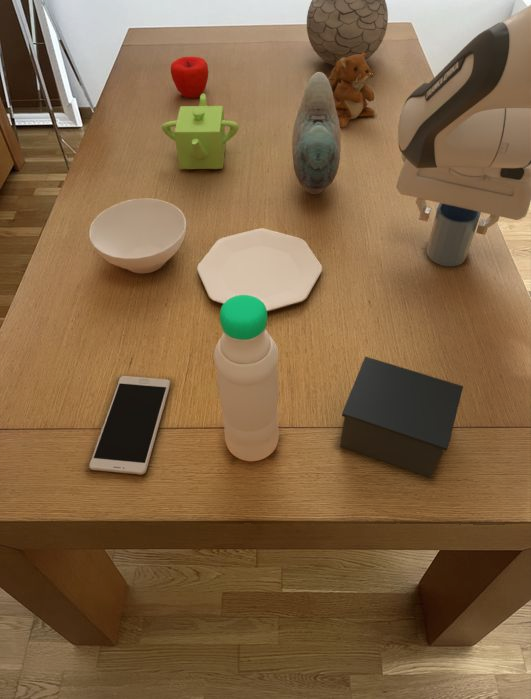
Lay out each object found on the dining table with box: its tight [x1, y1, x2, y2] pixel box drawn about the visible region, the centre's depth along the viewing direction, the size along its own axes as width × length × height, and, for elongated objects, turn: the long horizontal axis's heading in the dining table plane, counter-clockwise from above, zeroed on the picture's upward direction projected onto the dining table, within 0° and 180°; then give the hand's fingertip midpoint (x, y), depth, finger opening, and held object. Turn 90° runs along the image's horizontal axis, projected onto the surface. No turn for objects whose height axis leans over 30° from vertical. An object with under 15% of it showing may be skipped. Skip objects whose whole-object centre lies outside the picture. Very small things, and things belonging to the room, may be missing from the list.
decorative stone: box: [291, 71, 342, 195], centre depth 104 cm, size 21×9×20 cm, turn 177°
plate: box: [196, 227, 323, 313], centre depth 95 cm, size 20×20×2 cm
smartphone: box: [88, 375, 171, 476], centre depth 76 cm, size 8×1×15 cm
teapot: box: [161, 92, 240, 170], centre depth 114 cm, size 15×13×11 cm
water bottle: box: [213, 295, 280, 462], centre depth 65 cm, size 7×7×25 cm
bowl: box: [88, 198, 187, 274], centre depth 96 cm, size 16×16×7 cm
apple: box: [170, 56, 209, 99], centre depth 134 cm, size 9×9×8 cm
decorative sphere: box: [306, 0, 389, 67], centre depth 139 cm, size 20×20×20 cm
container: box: [339, 356, 464, 479], centre depth 72 cm, size 13×10×8 cm
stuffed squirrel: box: [328, 52, 376, 129], centre depth 125 cm, size 10×14×13 cm
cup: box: [426, 203, 482, 267], centre depth 94 cm, size 7×7×9 cm
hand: (452, 225), depth 93 cm, fingers open, 8 cm apart
